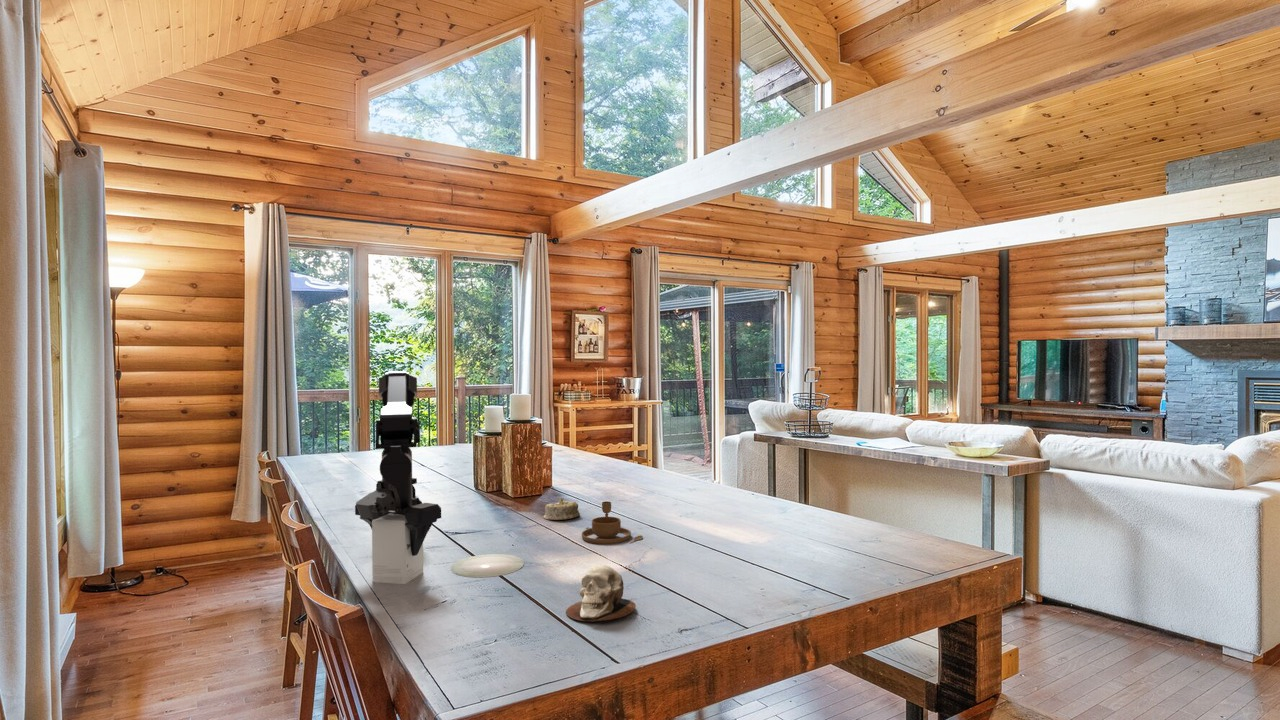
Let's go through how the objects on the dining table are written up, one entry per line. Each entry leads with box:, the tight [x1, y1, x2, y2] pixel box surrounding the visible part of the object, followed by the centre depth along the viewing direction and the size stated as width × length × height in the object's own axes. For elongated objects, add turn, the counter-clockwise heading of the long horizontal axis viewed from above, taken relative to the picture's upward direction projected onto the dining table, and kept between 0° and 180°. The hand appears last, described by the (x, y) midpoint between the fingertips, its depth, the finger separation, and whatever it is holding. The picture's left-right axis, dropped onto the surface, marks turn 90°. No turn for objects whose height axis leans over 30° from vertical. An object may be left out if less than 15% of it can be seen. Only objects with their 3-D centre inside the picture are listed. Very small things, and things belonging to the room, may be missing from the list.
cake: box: [542, 497, 581, 521], centre depth 191 cm, size 10×10×5 cm
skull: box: [565, 564, 636, 623], centre depth 121 cm, size 12×10×10 cm
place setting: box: [581, 501, 644, 545], centre depth 173 cm, size 18×20×6 cm
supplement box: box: [371, 513, 424, 585], centre depth 140 cm, size 7×7×13 cm
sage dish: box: [450, 553, 525, 578], centre depth 148 cm, size 15×15×1 cm
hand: (398, 552), depth 140 cm, fingers open, 9 cm apart
